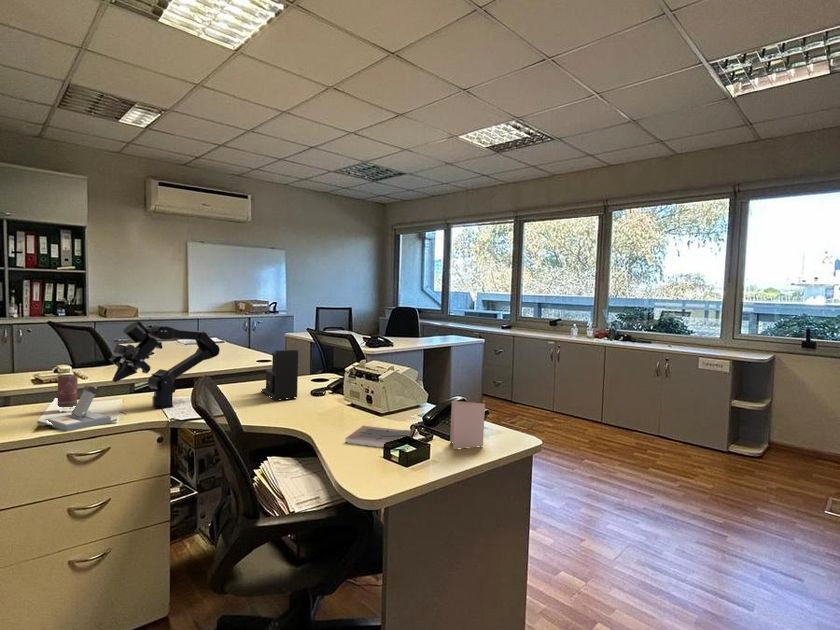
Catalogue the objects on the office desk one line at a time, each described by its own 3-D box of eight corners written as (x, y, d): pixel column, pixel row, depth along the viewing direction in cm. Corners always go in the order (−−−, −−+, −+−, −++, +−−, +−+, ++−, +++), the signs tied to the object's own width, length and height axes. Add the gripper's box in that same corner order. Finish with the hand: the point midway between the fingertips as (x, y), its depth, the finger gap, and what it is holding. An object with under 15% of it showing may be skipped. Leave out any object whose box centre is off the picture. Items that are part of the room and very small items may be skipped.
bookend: (260, 391, 227) (261, 345, 226) (281, 390, 233) (283, 344, 232) (274, 401, 208) (276, 350, 207) (297, 399, 214) (299, 350, 213)
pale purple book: (418, 438, 165) (362, 431, 170) (418, 431, 164) (362, 424, 170) (406, 452, 149) (345, 444, 154) (406, 445, 148) (345, 437, 154)
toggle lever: (76, 416, 164) (91, 386, 168) (85, 418, 162) (100, 388, 166) (69, 414, 162) (85, 384, 166) (78, 417, 160) (93, 386, 164)
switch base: (89, 416, 172) (89, 410, 172) (110, 422, 166) (110, 416, 166) (45, 424, 160) (45, 418, 159) (66, 431, 153) (66, 424, 153)
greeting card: (483, 446, 156) (485, 403, 156) (481, 453, 149) (483, 408, 148) (450, 442, 159) (452, 400, 158) (446, 449, 152) (448, 404, 151)
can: (81, 409, 181) (82, 374, 181) (67, 413, 175) (68, 377, 175) (67, 408, 182) (68, 373, 182) (53, 412, 176) (53, 376, 175)
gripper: (114, 334, 181) (83, 365, 171) (143, 338, 172) (111, 371, 163) (134, 352, 188) (105, 383, 179) (162, 357, 180) (133, 389, 170)
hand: (113, 381), depth 172 cm, fingers closed
